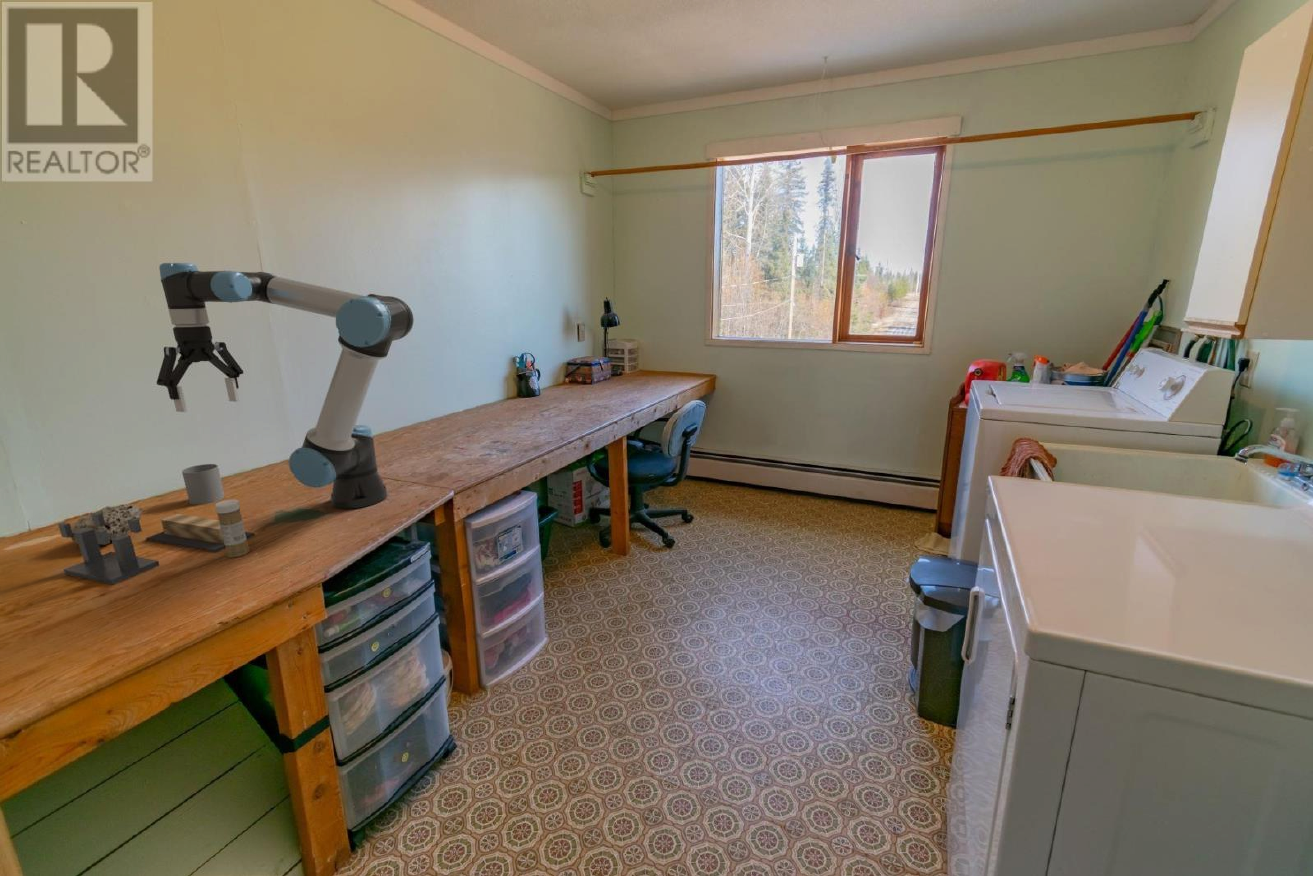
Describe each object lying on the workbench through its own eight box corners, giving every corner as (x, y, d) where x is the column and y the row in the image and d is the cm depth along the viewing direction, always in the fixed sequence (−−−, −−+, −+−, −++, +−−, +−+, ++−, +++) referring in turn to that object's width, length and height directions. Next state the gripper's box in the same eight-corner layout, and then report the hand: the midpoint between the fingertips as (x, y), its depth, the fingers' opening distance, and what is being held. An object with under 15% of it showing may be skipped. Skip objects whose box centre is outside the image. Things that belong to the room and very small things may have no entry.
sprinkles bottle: (247, 547, 137) (236, 497, 134) (251, 553, 134) (240, 502, 131) (224, 554, 134) (212, 502, 130) (228, 560, 131) (216, 507, 127)
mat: (254, 535, 144) (254, 533, 144) (215, 552, 135) (215, 550, 135) (188, 524, 151) (187, 522, 151) (146, 540, 141) (146, 538, 141)
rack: (159, 565, 129) (146, 517, 125) (113, 584, 120) (98, 534, 117) (112, 556, 133) (98, 510, 130) (64, 574, 125) (49, 525, 122)
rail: (237, 537, 142) (234, 522, 141) (221, 543, 138) (218, 529, 137) (181, 527, 147) (177, 513, 146) (164, 533, 144) (160, 519, 142)
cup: (183, 505, 163) (176, 474, 161) (197, 496, 171) (190, 465, 168) (217, 502, 166) (210, 471, 163) (229, 493, 173) (222, 463, 171)
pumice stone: (121, 526, 149) (113, 499, 147) (160, 528, 148) (152, 501, 146) (62, 550, 136) (52, 520, 134) (104, 553, 135) (95, 522, 133)
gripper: (228, 322, 155) (243, 396, 160) (124, 328, 132) (146, 415, 137) (248, 322, 153) (263, 398, 158) (146, 329, 130) (168, 417, 135)
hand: (209, 406), depth 148 cm, fingers open, 13 cm apart
